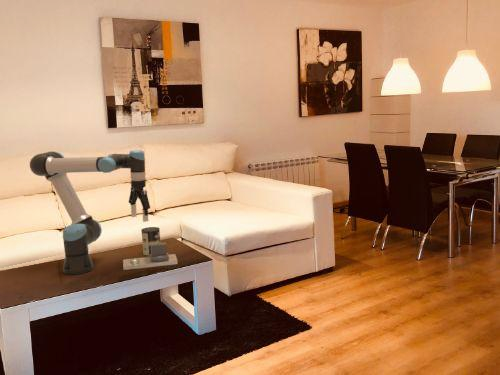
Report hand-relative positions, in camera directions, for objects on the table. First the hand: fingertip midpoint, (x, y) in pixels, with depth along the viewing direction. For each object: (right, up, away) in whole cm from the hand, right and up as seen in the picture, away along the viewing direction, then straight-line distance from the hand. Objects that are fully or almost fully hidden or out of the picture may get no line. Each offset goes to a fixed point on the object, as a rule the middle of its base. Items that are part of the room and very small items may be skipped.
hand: (139, 219), depth 272 cm
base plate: (+5, -24, +1) cm, 25 cm away
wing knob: (+10, -21, +2) cm, 24 cm away
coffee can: (+3, -21, +21) cm, 30 cm away
